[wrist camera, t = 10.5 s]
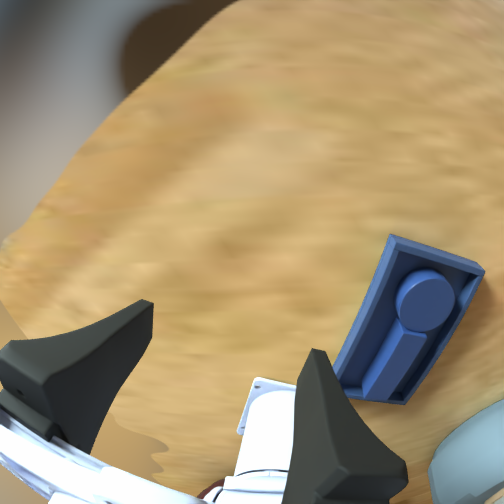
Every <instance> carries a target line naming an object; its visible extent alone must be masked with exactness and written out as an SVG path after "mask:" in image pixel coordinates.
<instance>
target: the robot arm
mask: <svg viewBox="0 0 504 504" xmlns="http://www.w3.org/2000/svg"><path fill="white" fill-rule="evenodd" d="M153 308H154V303H152V302H149V301H146V300H143V299H141V300H139V301H137V302H135V303H133V304H132V305H130V306H128V307H126V308H124V309H122V310H120V311H119V312H117V313H115V314H113V315H111V316H109V317H107V318H105V319H102V320H100V321H98V322H96V323H94V324H91V325H89V326H86V327H84V328H81V329H78V330H75V331H72V332H68V333H64V334H60V335H56V336H52V337H46V338H39V339H31V340H11V341H10V342H9V343H7V344H6V345H5V346H4V347H3V348H2V349H1V350H0V381H1V384H2V386H3V389H2V391H1V392H0V464H2V465H3V466H4V467H5V468H6V469H8V470H9V471H10V472H11V473H12V474H14V475H15V476H16V477H18V478H19V479H20V480H21V481H23V482H24V483H25V484H27V485H28V486H29V487H30V488H32V489H33V490H35V491H36V492H37V493H39V494H40V495H42V496H43V497H44V498H46V499H47V500H49V503H48V504H389V499H390V498H392V497H393V496H395V495H396V494H398V493H399V492H400V491H402V490H403V489H404V488H405V487H406V486H407V484H408V474H407V467H406V463H405V461H404V460H403V459H401V458H400V457H399V456H398V455H396V454H395V453H394V452H393V451H391V450H390V449H389V448H388V447H387V446H386V445H385V444H384V443H383V442H381V441H380V440H379V439H378V438H377V436H376V435H375V434H374V433H373V432H372V431H371V430H370V429H369V428H368V426H367V425H366V424H365V423H364V422H363V420H362V419H361V418H360V416H359V415H358V413H357V412H356V411H355V409H354V408H353V406H352V405H351V403H350V401H349V399H348V398H347V396H346V394H345V392H344V391H343V389H342V387H341V385H340V383H339V381H338V379H337V377H336V374H335V372H334V370H333V368H332V366H331V363H330V361H329V359H328V356H327V354H326V352H325V351H322V350H317V349H313V348H312V349H311V351H310V354H309V356H308V358H307V360H306V362H305V364H304V367H303V369H302V371H301V373H300V375H299V377H298V379H297V386H296V385H291V384H286V383H282V382H277V381H273V380H269V379H265V378H260V377H258V378H255V379H254V382H253V385H252V388H251V391H250V394H249V397H248V400H247V403H246V406H245V409H244V412H243V414H242V417H241V420H240V423H239V426H238V429H237V433H238V434H240V435H243V440H242V444H241V448H240V453H239V457H238V461H237V465H236V469H235V474H234V477H226V479H225V483H224V487H215V488H214V489H212V490H211V491H210V493H208V494H207V495H206V496H205V498H204V499H199V498H197V497H194V496H191V495H189V494H185V493H182V492H179V491H176V490H173V489H170V488H167V487H164V486H161V485H158V484H156V483H153V482H150V481H148V480H145V479H143V478H140V477H138V476H135V475H133V474H130V473H128V472H126V471H123V470H120V469H117V468H115V467H112V466H110V465H108V464H106V463H104V462H102V461H100V460H98V459H96V458H94V457H92V456H90V453H91V450H92V447H93V444H94V442H95V439H96V437H97V434H98V432H99V430H100V427H101V425H102V422H103V420H104V418H105V416H106V414H107V412H108V410H109V408H110V406H111V404H112V402H113V400H114V398H115V396H116V394H117V393H118V391H119V389H120V388H121V386H122V385H123V383H124V382H125V380H126V379H127V378H128V376H129V375H130V373H131V372H132V370H133V369H134V368H135V366H136V365H137V363H138V362H139V360H140V359H141V357H142V356H143V354H144V352H145V350H146V349H147V347H148V345H149V343H150V341H151V339H152V329H153Z"/></svg>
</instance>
